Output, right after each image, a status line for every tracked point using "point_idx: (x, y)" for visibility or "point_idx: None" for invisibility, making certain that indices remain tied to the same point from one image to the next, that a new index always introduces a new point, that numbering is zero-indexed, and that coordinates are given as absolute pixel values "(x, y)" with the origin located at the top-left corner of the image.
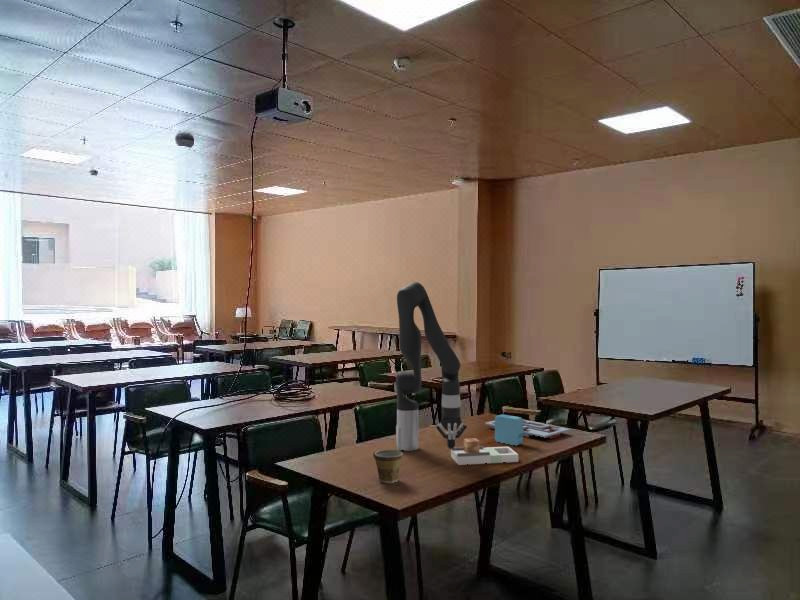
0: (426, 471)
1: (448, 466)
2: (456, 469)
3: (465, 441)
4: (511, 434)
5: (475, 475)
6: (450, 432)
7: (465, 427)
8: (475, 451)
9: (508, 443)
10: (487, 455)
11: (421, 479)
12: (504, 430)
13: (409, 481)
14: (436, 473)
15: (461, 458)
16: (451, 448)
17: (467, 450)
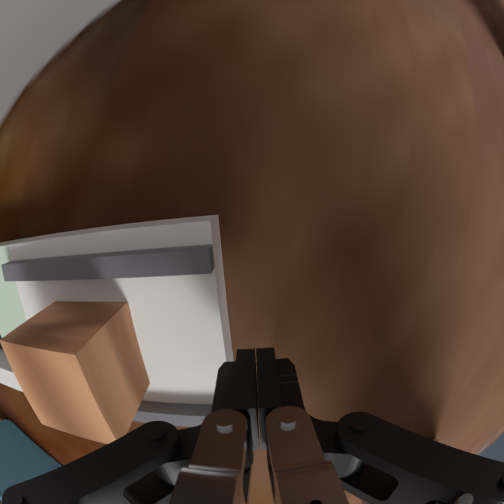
0: (436, 119)
1: (299, 189)
2: (253, 113)
3: (104, 402)
4: (7, 451)
5: (164, 13)
6: (290, 486)
7: (19, 493)
8: (66, 308)
9: (29, 441)
10: (19, 252)
11: (445, 26)
12: (25, 476)
13: (476, 31)
14: (389, 68)
15: (185, 221)
16: (257, 348)
17: (113, 315)
